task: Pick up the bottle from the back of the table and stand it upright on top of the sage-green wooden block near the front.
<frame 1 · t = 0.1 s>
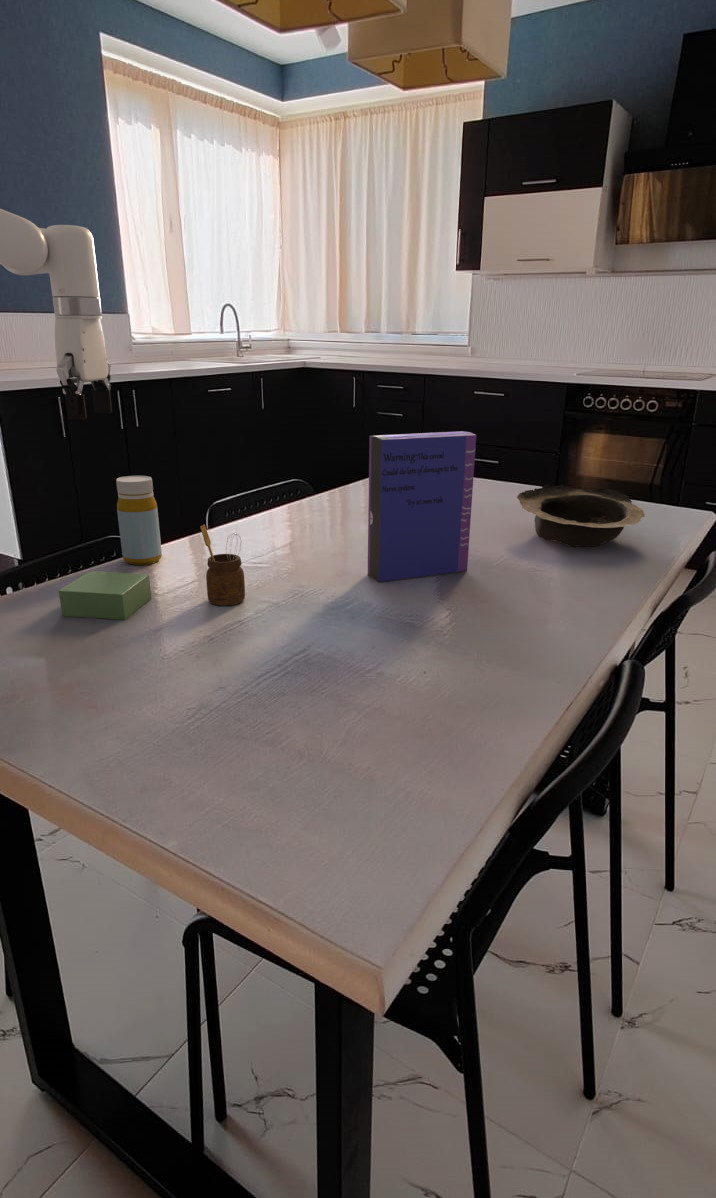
hand: (91, 416, 136), 25 cm above the table, tool pointing down, fingers open, 9 cm apart
stone bowl: (577, 539, 160), on the table
green block: (108, 606, 119), on the table
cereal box: (417, 574, 137), on the table
utensil holder: (226, 601, 122), on the table
bottle: (142, 561, 143), on the table
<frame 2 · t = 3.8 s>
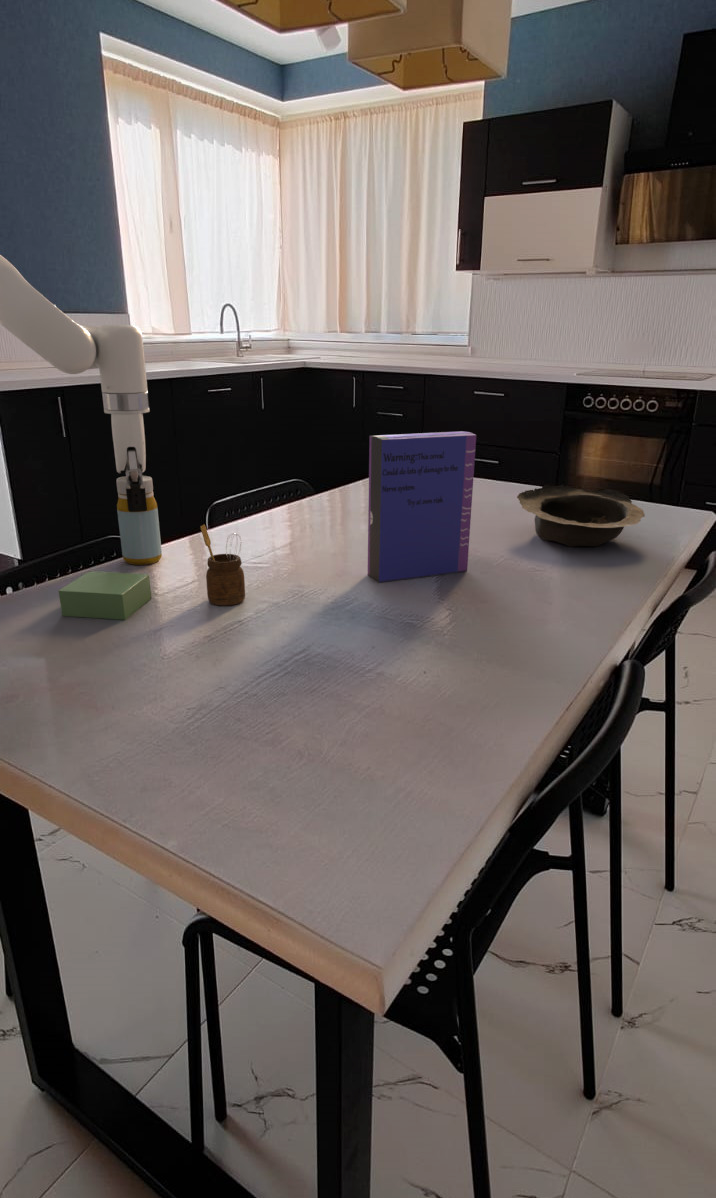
hand: (137, 505, 139), 10 cm above the table, tool pointing down, fingers closed on bottle, 7 cm apart
bottle: (143, 561, 143), on the table, touching gripper
everything else where it was.
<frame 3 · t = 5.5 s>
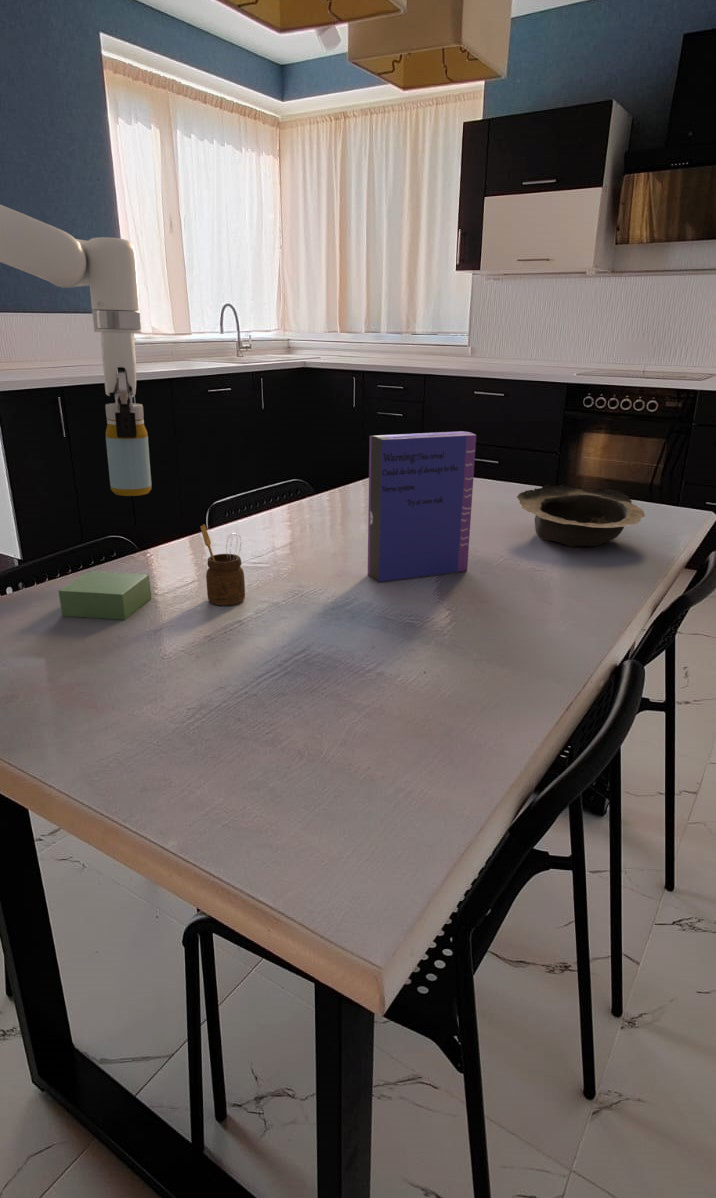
hand: (126, 433, 133), 23 cm above the table, tool pointing down, fingers closed on bottle, 7 cm apart
bottle: (131, 493, 138), point 12 cm above the table, touching gripper
everything else where it was.
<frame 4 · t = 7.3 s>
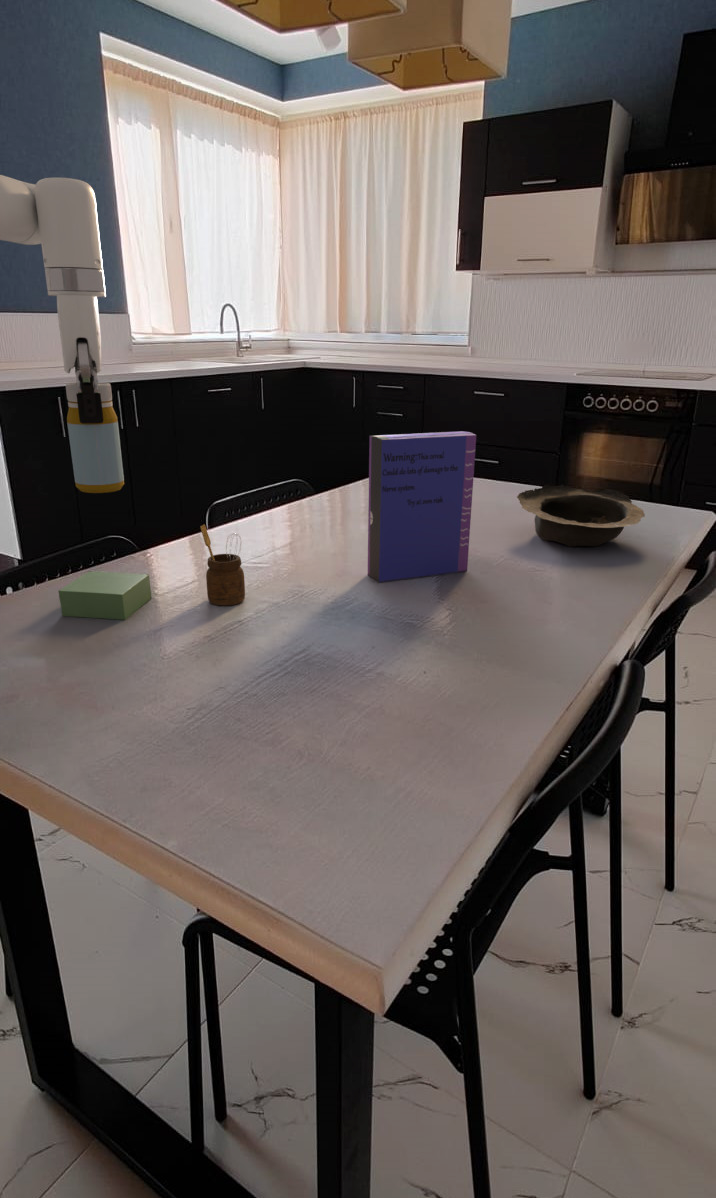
hand: (92, 418, 112), 28 cm above the table, tool pointing down, fingers closed on bottle, 7 cm apart
bottle: (100, 490, 116), point 17 cm above the table, touching gripper
everything else where it was.
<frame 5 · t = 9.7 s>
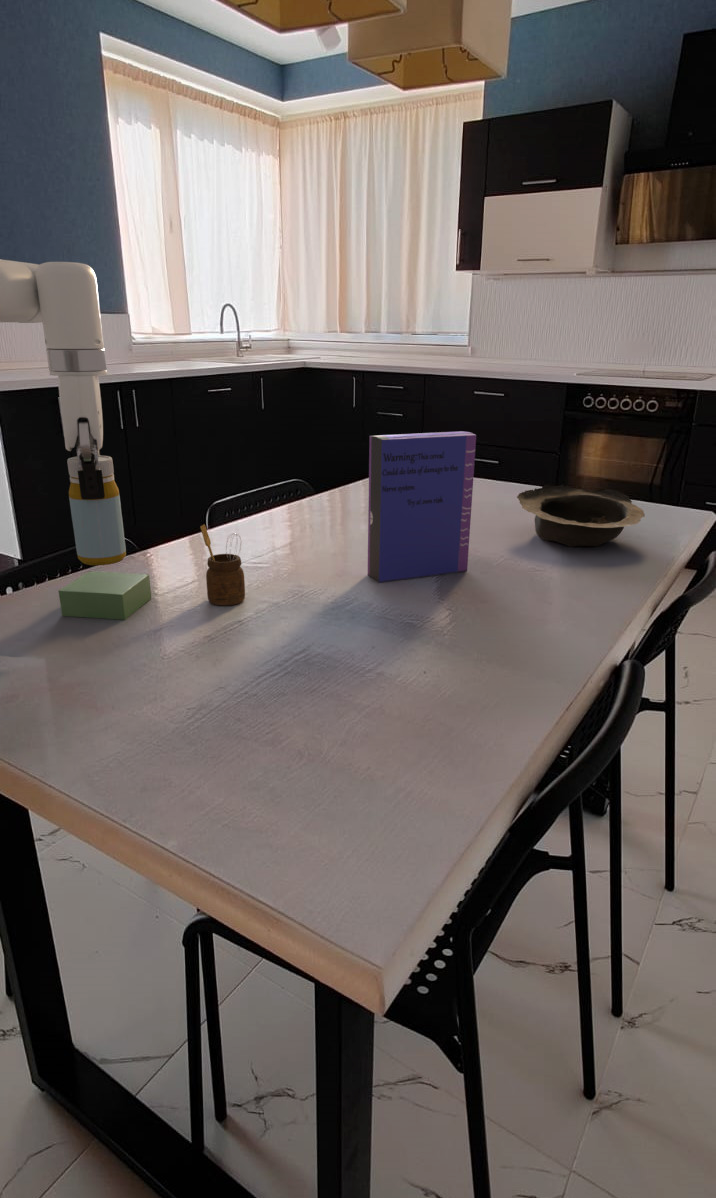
hand: (93, 492, 112), 18 cm above the table, tool pointing down, fingers closed on bottle, 7 cm apart
bottle: (102, 561, 116), point 7 cm above the table, touching gripper
everything else where it was.
when the fingers open (14 cm above the table, at t = 11.2 s): bottle stays where it is, resting on green block.
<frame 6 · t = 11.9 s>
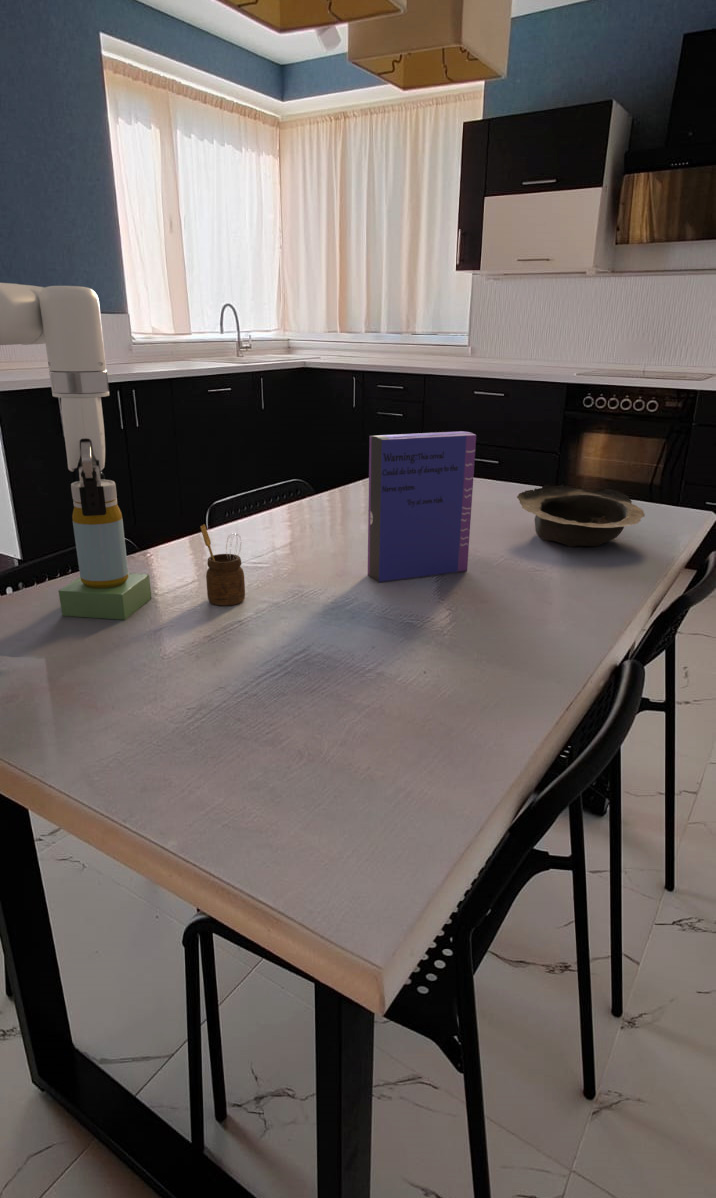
hand: (95, 507, 113), 15 cm above the table, tool pointing down, fingers open, 9 cm apart
green block: (108, 606, 119), on the table, touching bottle
bottle: (105, 583, 118), point 4 cm above the table, touching green block
everything else where it was.
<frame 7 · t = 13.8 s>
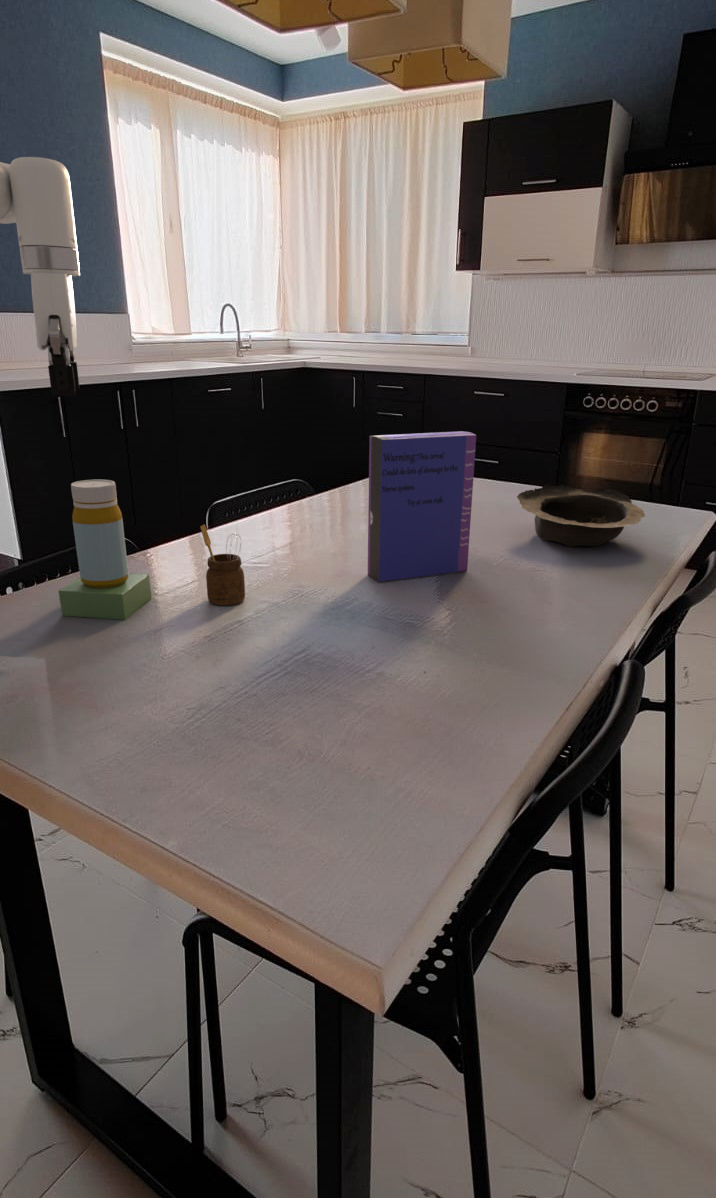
hand: (66, 392, 114), 31 cm above the table, tool pointing down, fingers open, 9 cm apart
nothing on the table moved.
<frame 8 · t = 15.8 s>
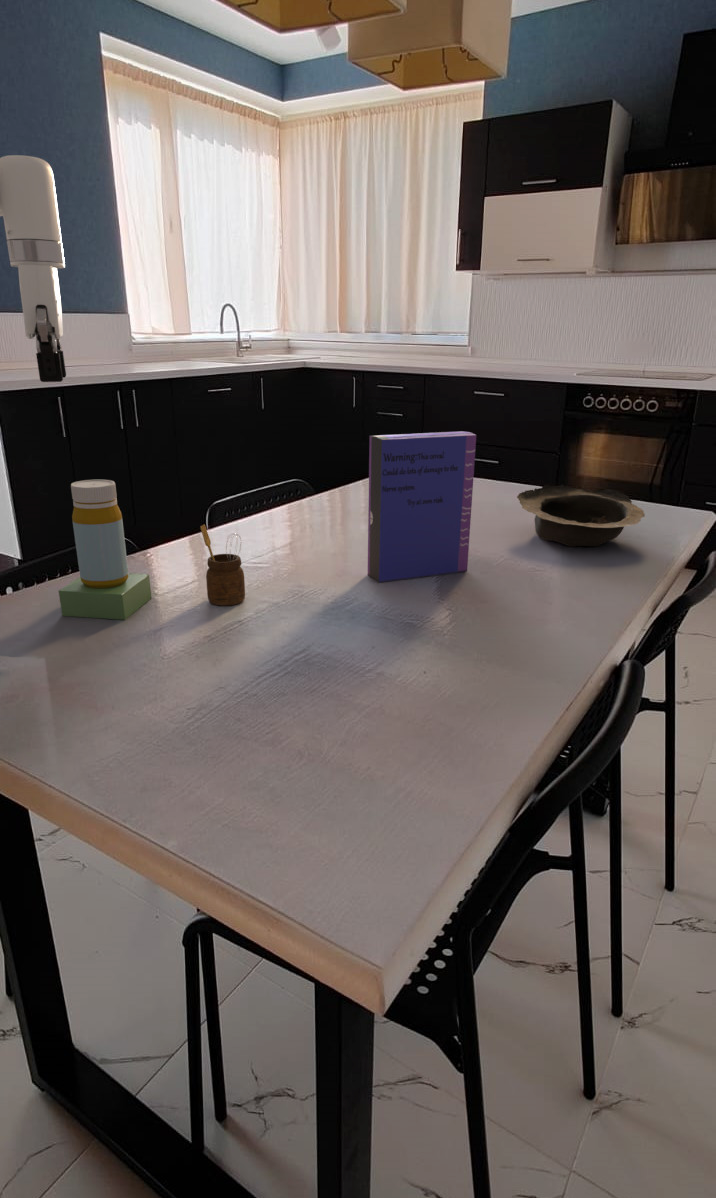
hand: (53, 379, 120), 32 cm above the table, tool pointing down, fingers open, 9 cm apart
nothing on the table moved.
at the end: bottle 0.0 cm off-centre on the green block, point 3.8 cm above the green block's base; bottle tilted 0°; the gripper is holding nothing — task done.
